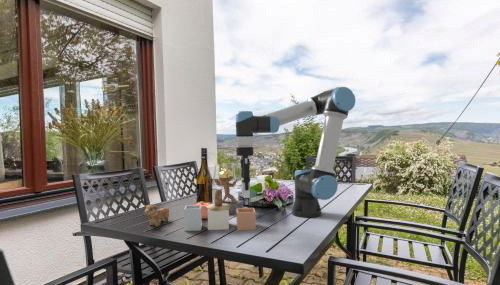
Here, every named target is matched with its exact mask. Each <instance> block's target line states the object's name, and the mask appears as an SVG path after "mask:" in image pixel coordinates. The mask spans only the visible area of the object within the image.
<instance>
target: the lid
mask: <svg viewBox="0 0 500 285" xmlns="http://www.w3.org/2000/svg"><path fill="white" fill-rule="evenodd" d="M213 197H214V203H210V204H209V205H207V209H208V210H212V211H221V210H227V209H229V208H230V205H229V204H226V203H222V200H223V189H222V188H221V189H220V188H219V189H214V195H213Z"/></svg>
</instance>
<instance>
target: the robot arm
mask: <svg viewBox="0 0 500 285" xmlns="http://www.w3.org/2000/svg"><path fill="white" fill-rule="evenodd" d="M355 105H356V96H355V93H353V90H352V89H350V88H349V87H348V86H347V87H346V86H339V87H338V86H337V87H335V88H331V89H329V90H324V91H323V92H321V93H319V94H316V95H314V96H311V97H309V98H307V99H306V100H305V101H303V102H300V103H297V104H294V105H290V106H288V107H285V108H282V109H279V110H276V111H273V112H272V111H271V112H269V113H267V114H263V115H254V113H253V111H251V110H249V111H248V110H239V111H237V112H236V113H235V132H236V134H235V137H236V138H235V139H234V142H236V143H235V144H236V146H237V147H236V150H235V151H236V156H237V157H238V156H239V157H241V158H240V161H239V162H240V168H241V170H240V177H241V180H240V181H241V193H242V194H243V199H250V198H251V176H250V175H251V174H250V173H251V172H250V168H251V167H250V165H251V160H250V158H249V157H251V156H254V147H253V146H254V135H257V134H272V133H273V134H274V133H275V134H276V133H278V131H279V129H280V127H281V126H283V125H286V124H289V123H293V122H295V121H297V120H301V119H304V118H307V117H310V116H311V117H315V116H318V115H319V116H320V115H323V116H324V122H323V126H322V131H321V136H320V140H319V145H318V149H317V154H316V159H315V164H314V165H313V166H312V167H311V168H310V169H297V170H295V171H294V178H293V179H294V201H293V204H292V207H291V214H292V215H293V216H295V217H300V218H317V217H319V216H322V208H321V205H320V202H319V200H322V201H327V200H330V199H331V198H333V197H334V196H335V195H336V193H337V192H338V191H337V190H338V185H339V184H338V182H337V179H336V171H335V170H334V167H335V161H336V157H337V152H338V147H339V143H340V138H341V133H342V130H343V129H342V128H343V124H344V120H346V119H348V117H349V116H348V115H349V111H351V110H352V109H354V108H355Z"/></svg>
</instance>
